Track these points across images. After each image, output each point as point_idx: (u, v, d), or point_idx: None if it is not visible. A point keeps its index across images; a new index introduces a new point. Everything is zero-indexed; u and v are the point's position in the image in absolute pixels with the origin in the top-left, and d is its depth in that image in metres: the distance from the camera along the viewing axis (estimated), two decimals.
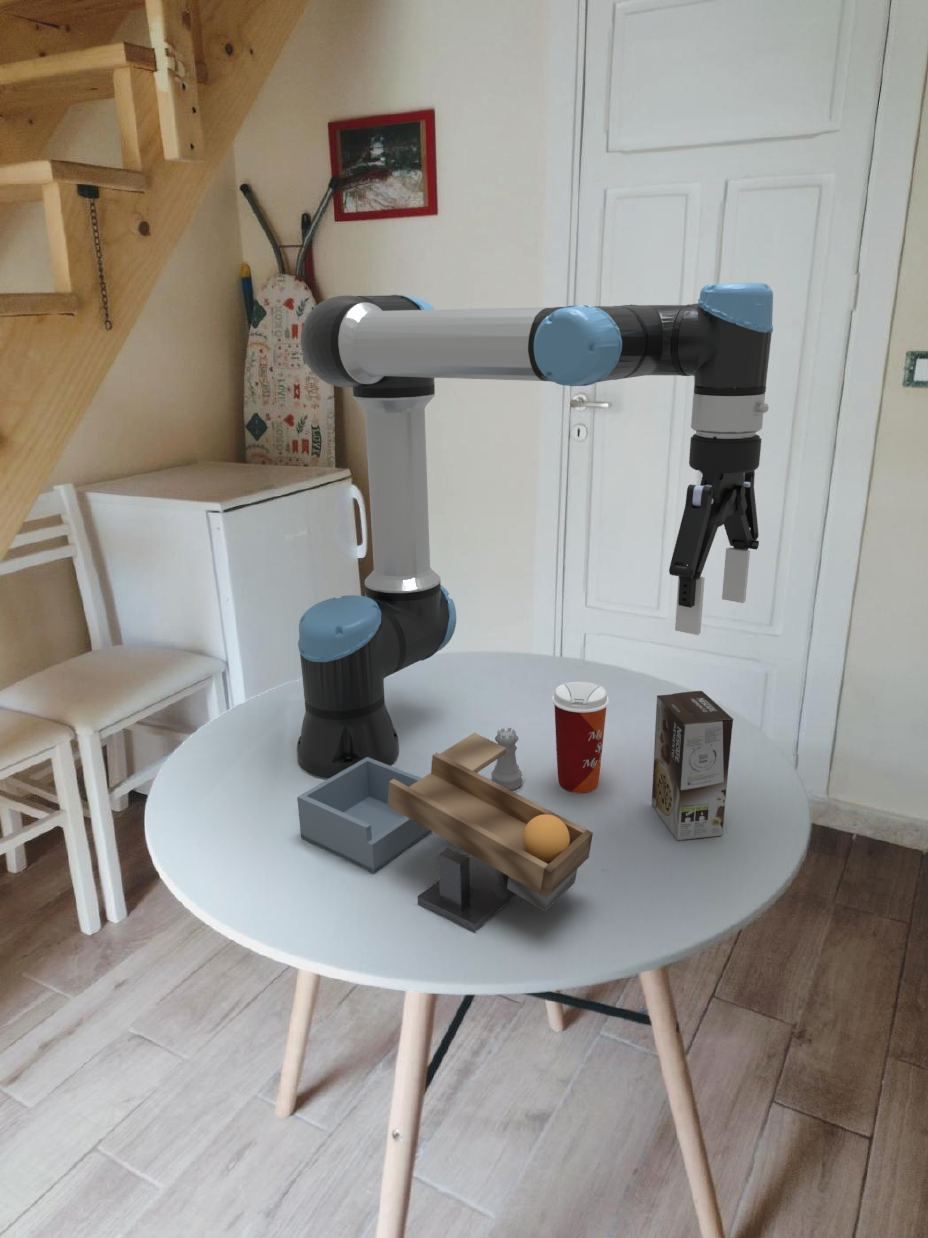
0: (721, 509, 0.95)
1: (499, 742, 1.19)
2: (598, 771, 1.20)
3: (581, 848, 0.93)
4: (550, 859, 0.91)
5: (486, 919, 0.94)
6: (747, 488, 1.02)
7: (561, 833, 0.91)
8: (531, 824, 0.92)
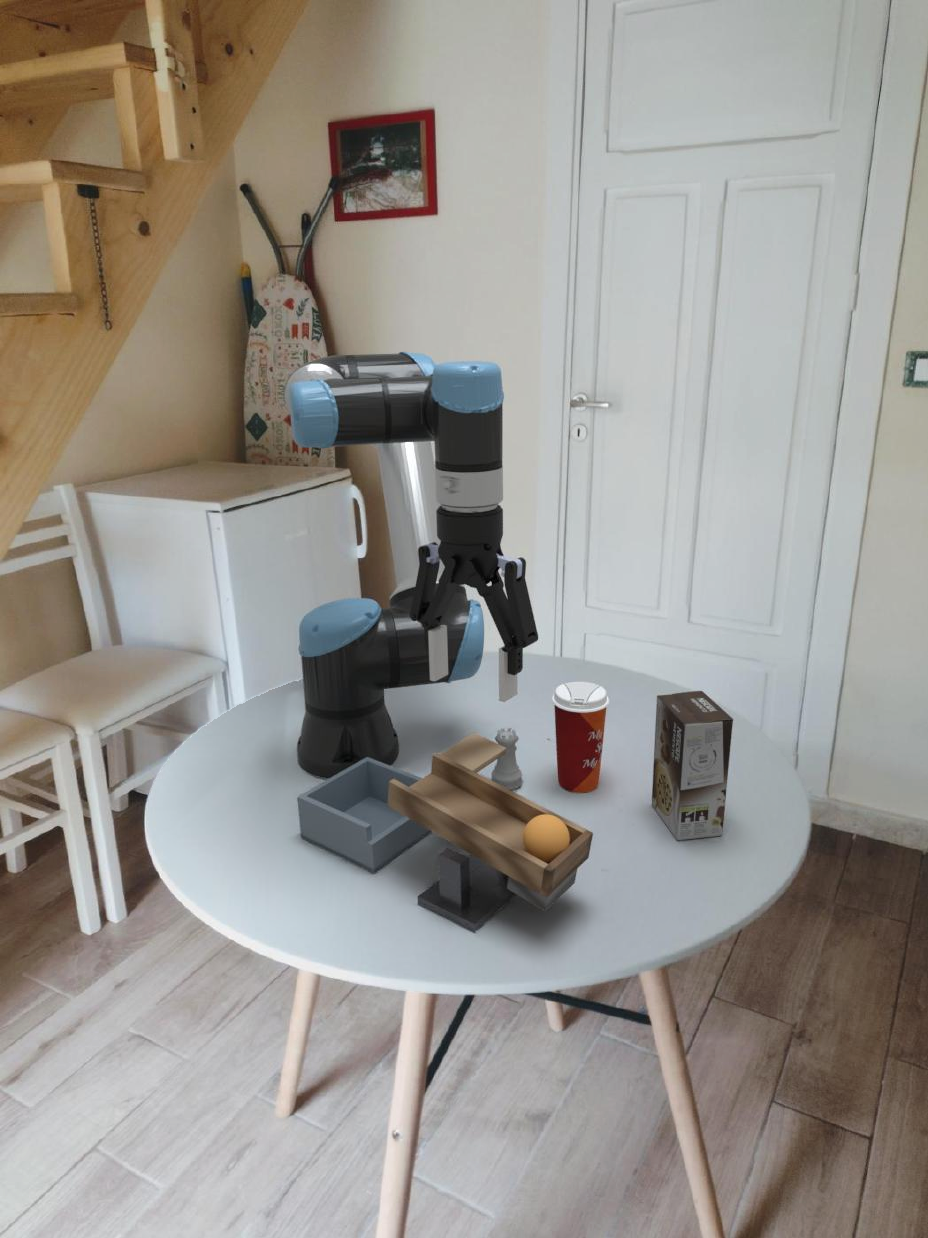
0: None
1: (499, 742, 1.19)
2: (598, 771, 1.20)
3: (581, 848, 0.93)
4: (550, 859, 0.91)
5: (486, 919, 0.94)
6: (505, 578, 0.97)
7: (561, 833, 0.91)
8: (531, 824, 0.92)
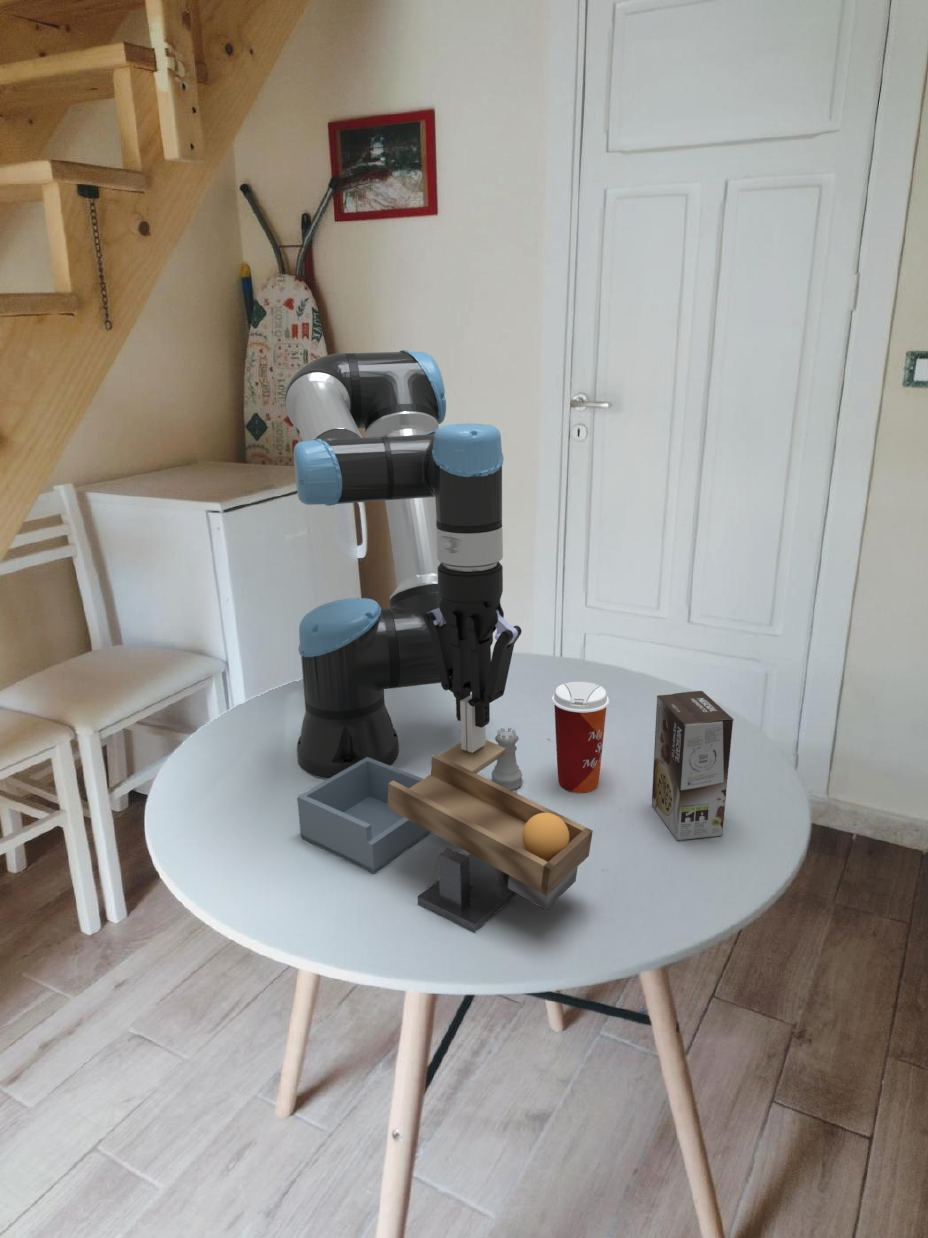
0: None
1: (499, 742, 1.19)
2: (598, 771, 1.20)
3: (581, 846, 0.93)
4: (550, 857, 0.91)
5: (486, 919, 0.94)
6: None
7: (560, 831, 0.91)
8: (530, 822, 0.92)
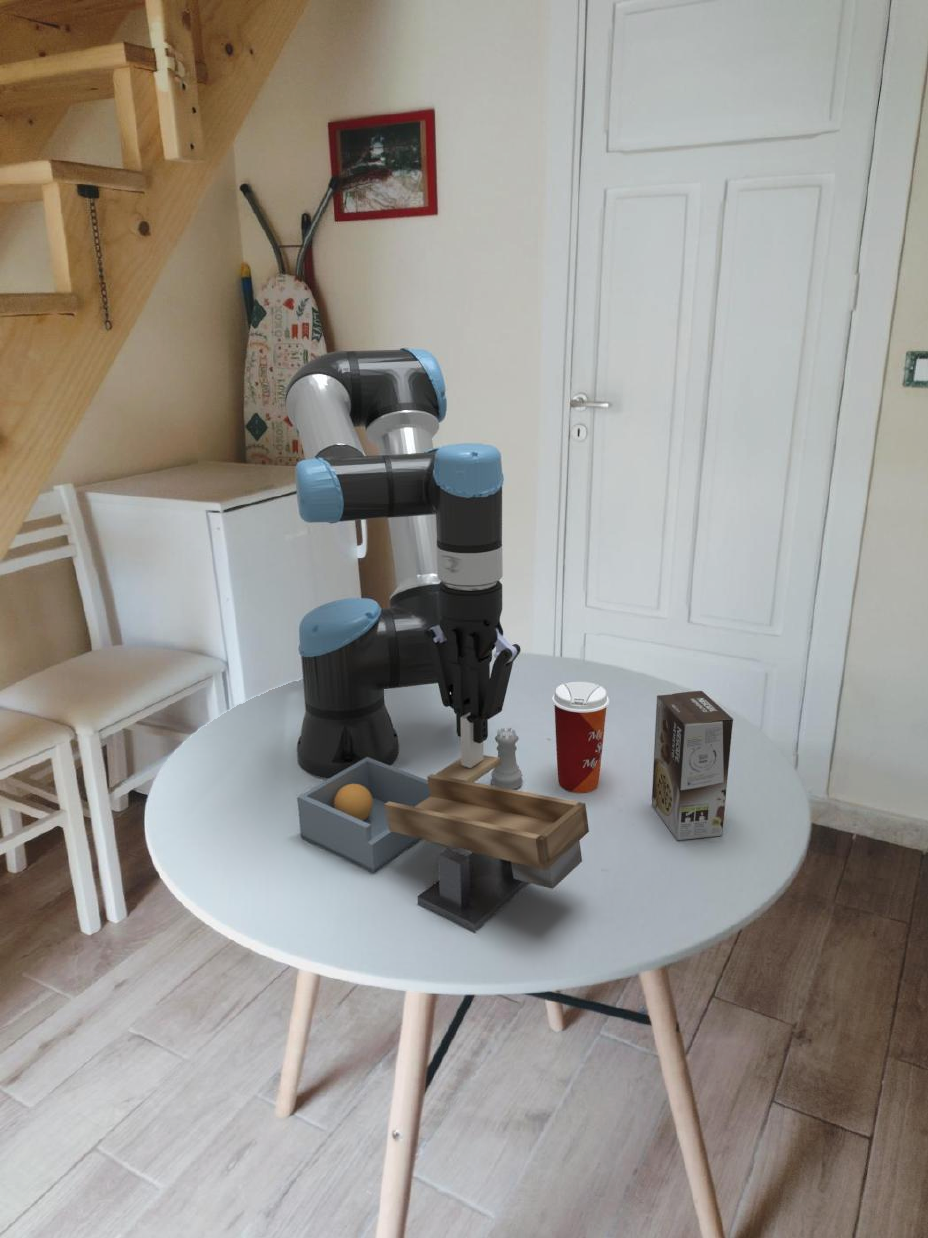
0: None
1: (499, 742, 1.19)
2: (598, 771, 1.20)
3: (575, 819, 0.92)
4: None
5: (486, 919, 0.94)
6: None
7: (366, 808, 1.10)
8: (346, 792, 1.10)
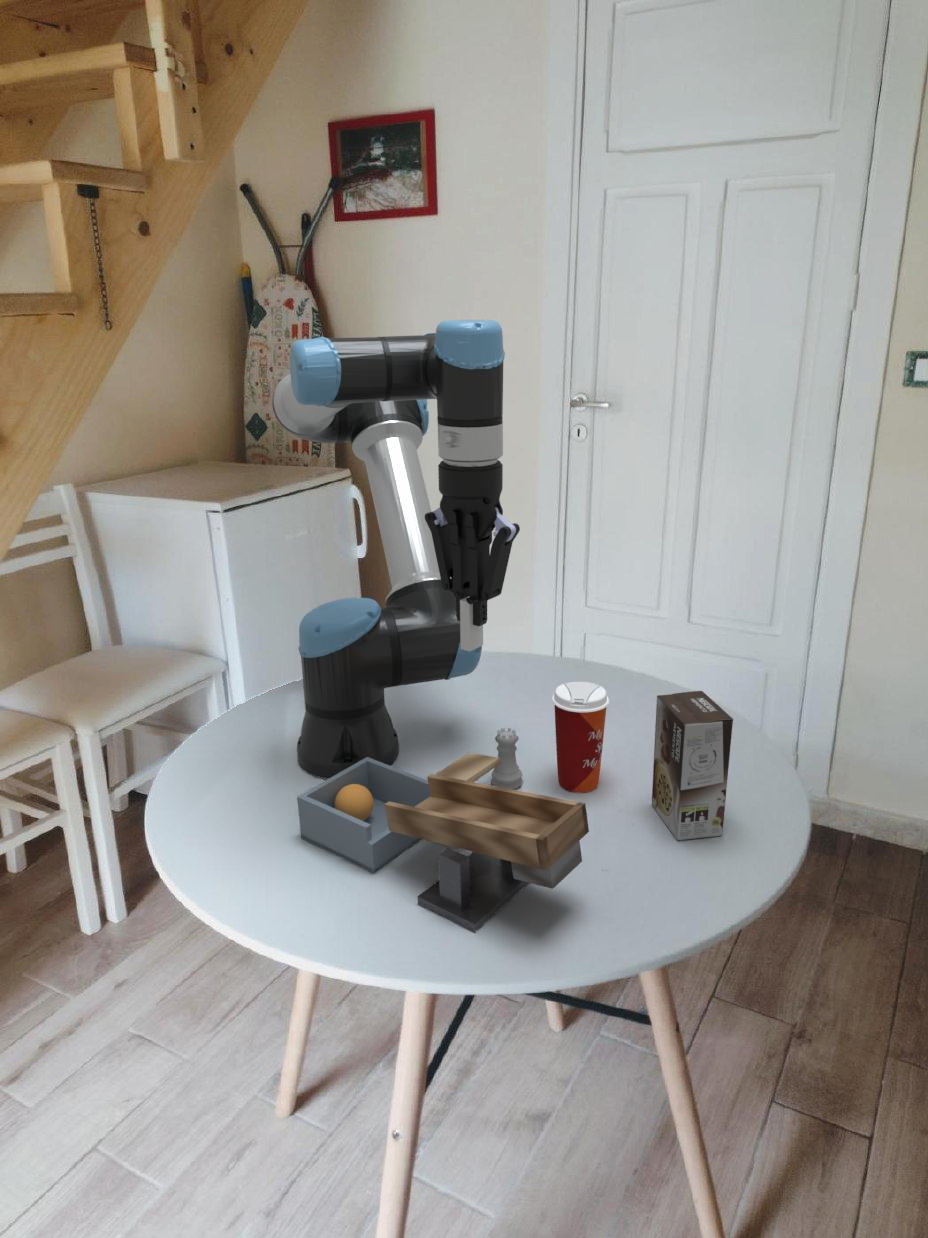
0: None
1: (499, 742, 1.19)
2: (598, 771, 1.20)
3: (575, 819, 0.92)
4: None
5: (486, 919, 0.94)
6: (495, 538, 1.01)
7: (366, 810, 1.10)
8: (347, 792, 1.10)
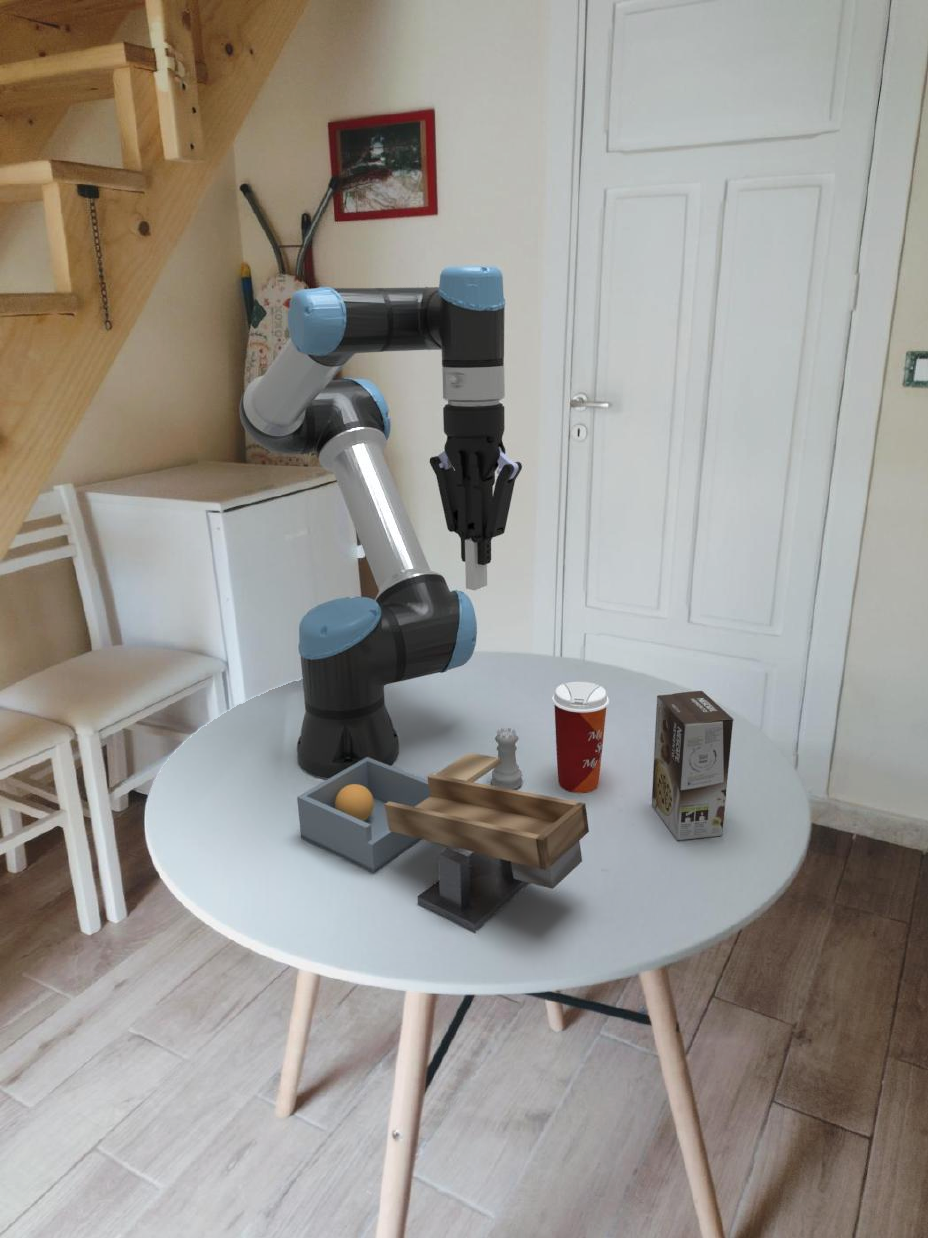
0: None
1: (499, 742, 1.19)
2: (598, 771, 1.20)
3: (575, 819, 0.92)
4: None
5: (486, 919, 0.94)
6: (499, 475, 1.06)
7: (367, 810, 1.10)
8: (348, 793, 1.10)
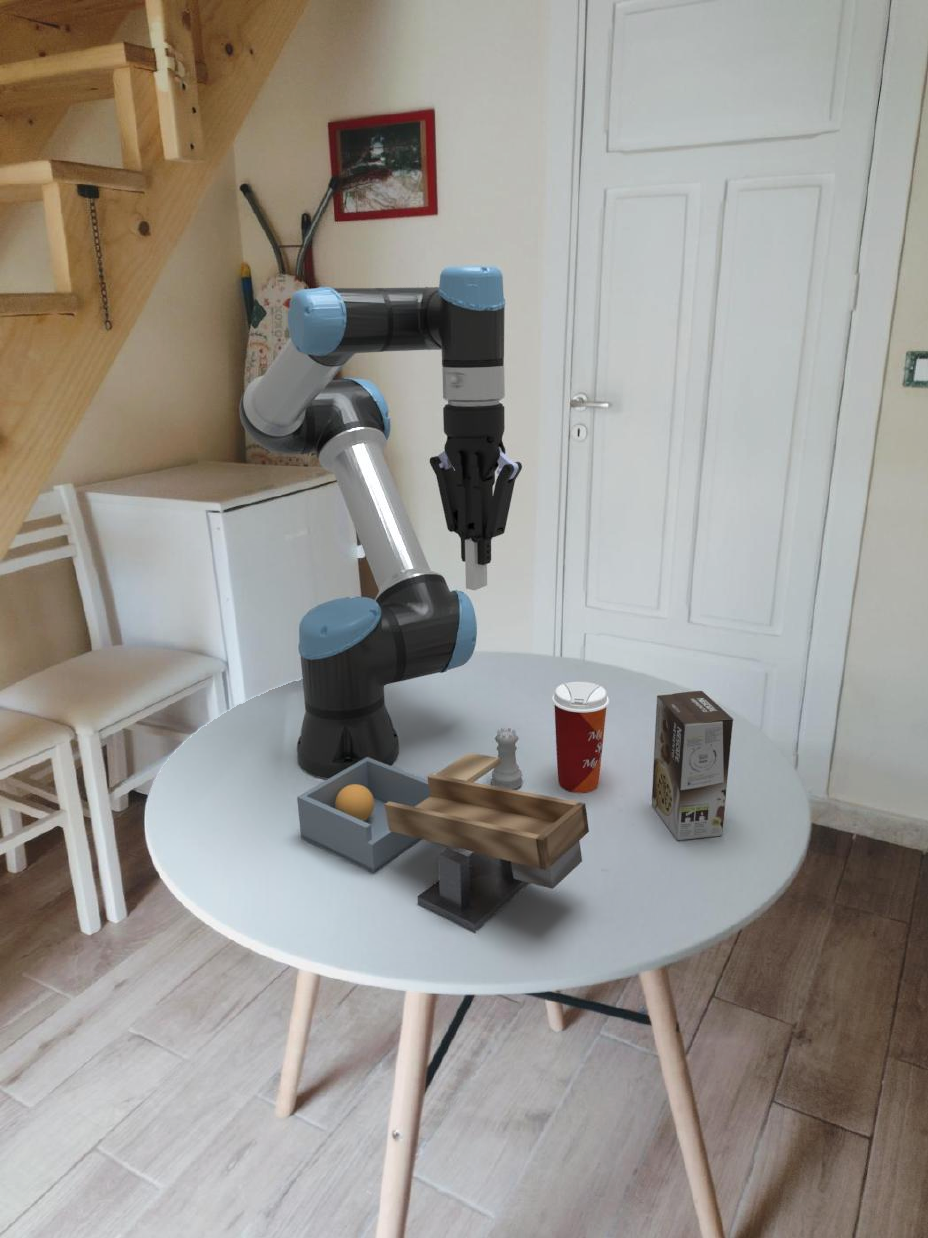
0: None
1: (499, 742, 1.19)
2: (598, 771, 1.20)
3: (575, 819, 0.92)
4: None
5: (486, 919, 0.94)
6: (499, 475, 1.06)
7: (367, 811, 1.10)
8: (348, 793, 1.10)
